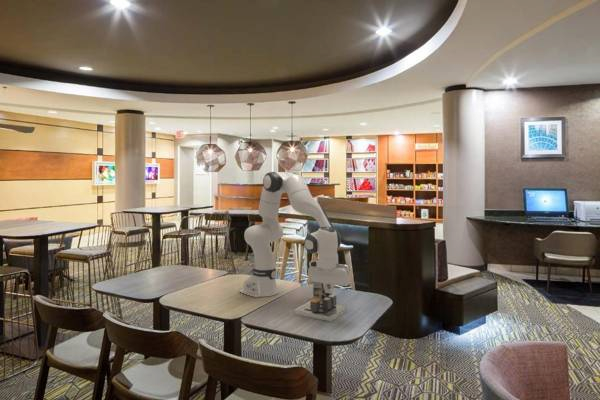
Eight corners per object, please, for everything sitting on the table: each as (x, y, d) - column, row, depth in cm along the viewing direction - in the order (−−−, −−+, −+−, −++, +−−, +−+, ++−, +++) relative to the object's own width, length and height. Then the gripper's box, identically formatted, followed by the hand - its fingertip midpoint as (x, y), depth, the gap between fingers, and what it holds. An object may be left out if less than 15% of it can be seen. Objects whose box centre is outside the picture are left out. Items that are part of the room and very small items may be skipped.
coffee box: (323, 303, 194) (322, 272, 193) (312, 301, 198) (312, 270, 197) (332, 298, 202) (332, 268, 201) (322, 296, 205) (322, 267, 205)
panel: (293, 313, 180) (293, 309, 180) (311, 304, 193) (310, 300, 193) (331, 321, 169) (331, 316, 169) (346, 310, 183) (346, 306, 183)
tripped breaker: (310, 310, 176) (310, 300, 176) (314, 308, 179) (314, 298, 179) (316, 312, 175) (316, 301, 174) (320, 309, 178) (319, 299, 177)
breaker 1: (322, 309, 179) (322, 298, 178) (326, 306, 182) (325, 296, 181) (328, 310, 177) (327, 299, 177) (331, 307, 180) (331, 297, 180)
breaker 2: (327, 305, 183) (327, 296, 183) (330, 303, 186) (330, 294, 186) (332, 306, 181) (332, 297, 181) (336, 304, 184) (336, 295, 184)
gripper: (352, 263, 169) (353, 294, 170) (312, 259, 180) (313, 288, 181) (346, 266, 164) (347, 298, 164) (305, 262, 175) (306, 292, 175)
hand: (329, 293), depth 173 cm, fingers closed
